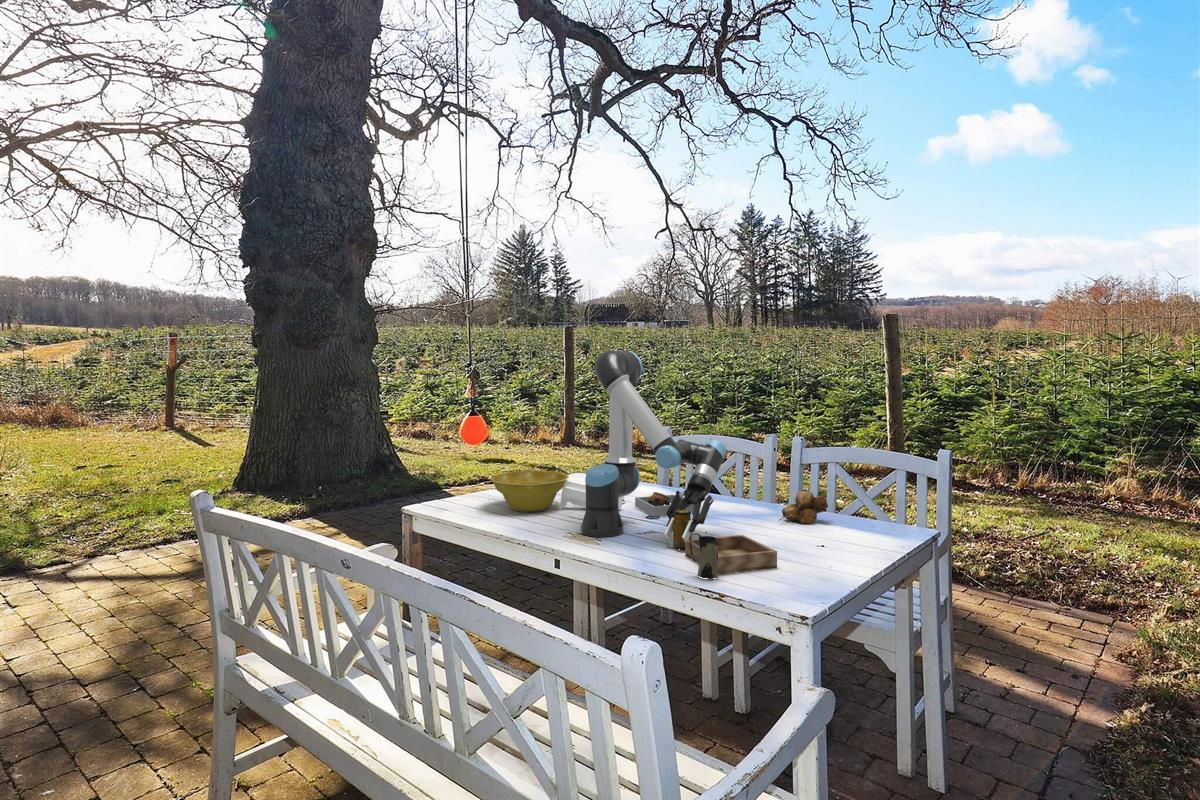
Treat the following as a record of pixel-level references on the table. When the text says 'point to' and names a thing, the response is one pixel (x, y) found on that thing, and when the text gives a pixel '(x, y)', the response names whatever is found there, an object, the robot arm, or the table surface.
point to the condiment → (680, 529)
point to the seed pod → (805, 507)
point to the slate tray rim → (656, 510)
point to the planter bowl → (529, 488)
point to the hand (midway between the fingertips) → (675, 538)
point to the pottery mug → (658, 499)
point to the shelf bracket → (577, 494)
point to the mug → (707, 556)
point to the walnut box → (737, 554)
